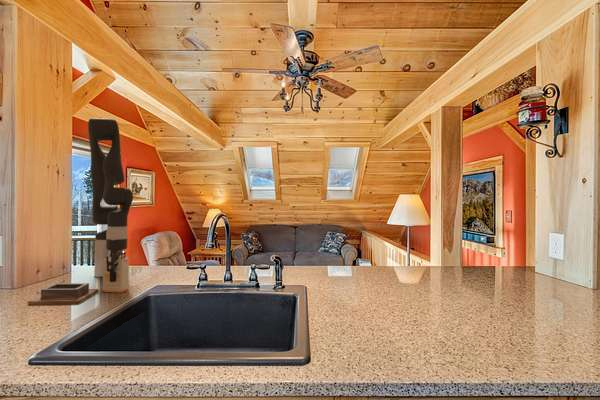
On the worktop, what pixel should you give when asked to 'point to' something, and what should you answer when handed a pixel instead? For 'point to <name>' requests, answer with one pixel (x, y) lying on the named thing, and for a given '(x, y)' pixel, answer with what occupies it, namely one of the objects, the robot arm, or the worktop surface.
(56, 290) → the slot holder
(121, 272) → the supplement box
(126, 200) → the robot arm
